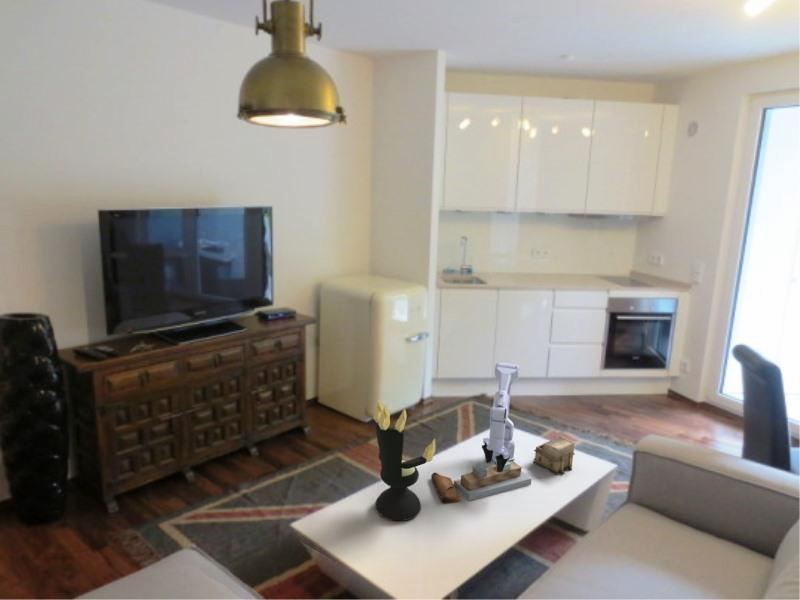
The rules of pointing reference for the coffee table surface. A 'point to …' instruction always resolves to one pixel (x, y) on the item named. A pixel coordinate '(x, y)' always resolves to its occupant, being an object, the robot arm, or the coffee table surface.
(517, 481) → the dock
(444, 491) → the sunglasses case
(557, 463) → the ornate brown chest
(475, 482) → the wooden plank
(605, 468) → the coffee table surface
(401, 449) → the candelabra
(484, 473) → the crate
